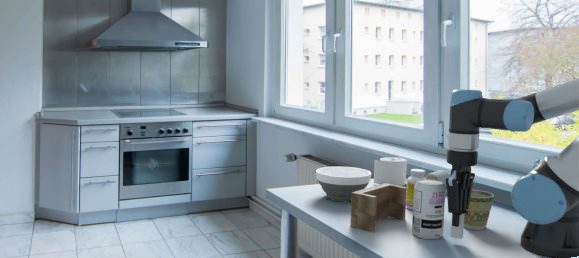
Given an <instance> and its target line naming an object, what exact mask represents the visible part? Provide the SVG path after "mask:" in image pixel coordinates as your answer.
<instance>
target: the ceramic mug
mask: <svg viewBox="0 0 579 258" xmlns="http://www.w3.org/2000/svg"><path fill="white" fill-rule="evenodd" d="M450 177H451V175H450V174H449V173H448V172H447V171H446V170H444V169H439V170H436V171H433V172H430V173H428V174H427V175H425V176H424V178H426V179H430V180H437V181H441V182H443V185H444V187H445V189H446V190H445V195H447V185H446V178H450Z"/></svg>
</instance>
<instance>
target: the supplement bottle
mask: <svg viewBox="0 0 579 258" xmlns="http://www.w3.org/2000/svg"><path fill="white" fill-rule="evenodd" d="M425 176H426V170H425V169H419V168H411V169H410V176H408V178H406V187H407V191H406V209H408V210H411V211H413V201H414V186H415V184H416V183H417V180H422V179H426V178H425Z"/></svg>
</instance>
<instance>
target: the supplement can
mask: <svg viewBox="0 0 579 258" xmlns="http://www.w3.org/2000/svg"><path fill="white" fill-rule="evenodd" d="M445 190H446V189H445V187H444V185H443V182H441V181H437V180H430V179H422V180H417V183H416V184H415V186H414V201H413V210H412V225H411V232H412V234H413V235H414V236H415V237H417V238H419V239H424V240H439V239H440V238H441V237H442V236H443V235H444V223H445V221H444V220H445V207H446V205H445V204H446V194H445Z"/></svg>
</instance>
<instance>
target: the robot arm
mask: <svg viewBox="0 0 579 258" xmlns="http://www.w3.org/2000/svg"><path fill="white" fill-rule="evenodd" d="M578 111H579V77H578V78H575V79H574V78H573V79H572V80H569V81H566V82H562V83H560V84H558V85H554V86H551V87H548V88H546V89H542V90H540V91H537V92H534V93H530V94H527V95H524V96H522V97H518V98H507V99H504V98H501V99H500V98H486V97H484V95H483V91H482V90H480V89H464V88H463V89H457V88H456V89H454V90H452V92H451V97H450V104H449V122H448V134H447V135H446V138H447V146H448V149H447V151H446V153H447V154H446V162H447V164H449V165H451V169H450V178H446V185H447V194H446V197H447V212H448V213H449V214H451V222H450V223H451V224H450V226H451V227H450V237H451V238H455V239H458V240H462V239H463V237H464V229H465V228H464V213H466V214H468V212H469V211H466V209H469V203H470V197H471V191H472V190H473V185H474V180H475V177H476V173H475V172H472V167H474V166H477V165H478V158H479V157H478V156H479V153H478V151H477V150H478V149H479V146H480V132H481V131H480V130H481V129H488V130H489V129H490V130H499V131H508V132H509V131H510V132H511V133H512V132H513V133H515V132H519V133H520V132H521V133H525V132H528V131H529V130H531V128H532V126H533V125H535V124H538V123H541V122H545V121H547V120H551V119H554V118H557V117H560V116H563V115H568V114H571V113H574V112H578ZM510 193H511V194H510V197H511V198H510V199H511V203H512V205H513V208H514V209H515V211H516V212H517V213H518V215H519V216H520V217H521V218H523V219H524V220H526V221H527V222H526V224H525V226H524V227H523V231H522V232H521V235H520V246H521V247H522V248H523V249H525V250H527V251H529V252H530V253H531V252H532V253H533V254H537V255H540V254H541V256H545V257H549V256H550V257H549V258H554V257H560V258H571V257H577V256H579V135H578V136H577V137H575V139H573V141H572V142H571V143H569V144H568V145H567V146H566V147H565V148H564V149H562V151H561V152H560V153H559V154H556V155H555V154H554V155H552V154H551V155H546V156H545V157H544V158H537V159H535V161H534V163H533V166H532V168H531V170H530V171H529V172H527V174H524V175H523V176H520V177H519V178H518V179H516V181H515V183H514V184H513V186H512V188H511V192H510Z"/></svg>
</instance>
